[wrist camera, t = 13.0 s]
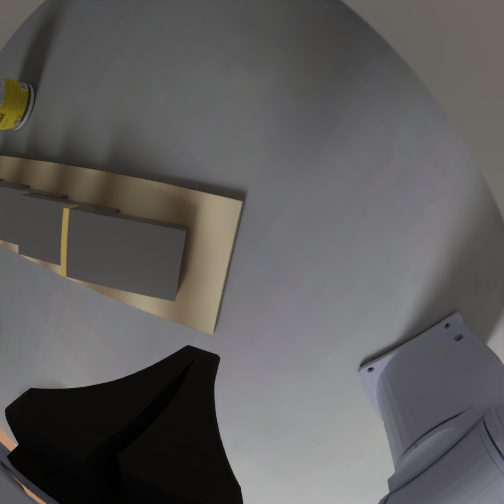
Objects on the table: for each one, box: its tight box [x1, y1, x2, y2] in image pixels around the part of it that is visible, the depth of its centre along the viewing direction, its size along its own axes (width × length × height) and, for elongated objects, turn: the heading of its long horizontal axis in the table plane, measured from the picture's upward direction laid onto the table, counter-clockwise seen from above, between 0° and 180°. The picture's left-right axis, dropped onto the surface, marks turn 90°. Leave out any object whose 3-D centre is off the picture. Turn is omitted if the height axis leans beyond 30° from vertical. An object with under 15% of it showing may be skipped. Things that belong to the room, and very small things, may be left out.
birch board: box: [0, 155, 244, 335], centre depth 22 cm, size 34×10×1 cm, turn 77°
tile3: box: [0, 184, 68, 245], centre depth 20 cm, size 2×5×9 cm
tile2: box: [18, 193, 120, 266], centre depth 20 cm, size 2×5×9 cm
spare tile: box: [61, 205, 189, 302], centre depth 19 cm, size 2×5×9 cm
